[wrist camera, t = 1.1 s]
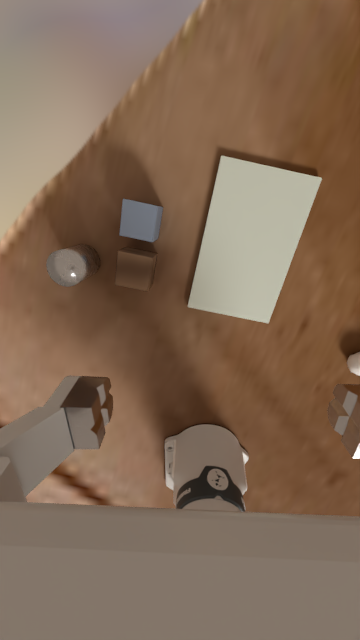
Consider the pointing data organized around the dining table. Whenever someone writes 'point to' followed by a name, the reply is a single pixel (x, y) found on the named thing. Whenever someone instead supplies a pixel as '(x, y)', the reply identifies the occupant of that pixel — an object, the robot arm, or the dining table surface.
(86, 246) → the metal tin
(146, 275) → the walnut block
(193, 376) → the dining table surface
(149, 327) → the dining table surface
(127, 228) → the slate blue block
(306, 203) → the sage board
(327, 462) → the dining table surface
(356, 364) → the white figurine
